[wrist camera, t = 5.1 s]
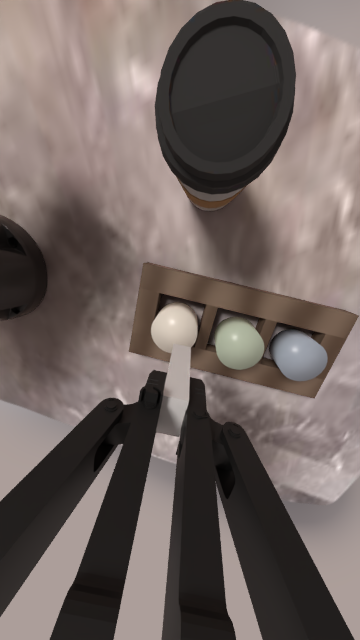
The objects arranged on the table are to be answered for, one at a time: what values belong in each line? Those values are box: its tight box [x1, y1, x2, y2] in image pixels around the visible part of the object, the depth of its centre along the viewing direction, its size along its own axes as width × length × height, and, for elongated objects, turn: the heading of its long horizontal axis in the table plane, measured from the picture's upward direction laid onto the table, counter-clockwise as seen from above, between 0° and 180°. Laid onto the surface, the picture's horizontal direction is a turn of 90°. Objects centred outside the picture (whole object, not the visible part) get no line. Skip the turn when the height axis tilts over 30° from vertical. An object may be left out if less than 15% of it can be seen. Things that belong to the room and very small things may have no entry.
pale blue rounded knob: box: [269, 329, 328, 381], centre depth 27 cm, size 6×6×4 cm
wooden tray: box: [129, 262, 359, 398], centre depth 30 cm, size 28×13×2 cm, turn 77°
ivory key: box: [151, 302, 198, 353], centre depth 26 cm, size 6×6×4 cm
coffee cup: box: [155, 0, 296, 211], centre depth 18 cm, size 8×8×15 cm
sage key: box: [214, 317, 264, 370], centre depth 26 cm, size 6×6×4 cm
